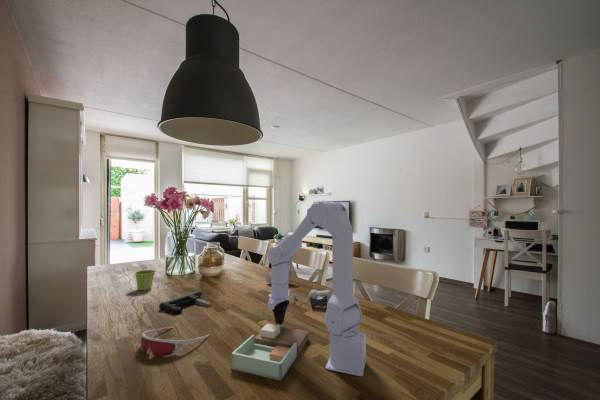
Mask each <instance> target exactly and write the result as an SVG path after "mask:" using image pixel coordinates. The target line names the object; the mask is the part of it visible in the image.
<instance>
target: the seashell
mask: <svg viewBox="0 0 600 400" xmlns="http://www.w3.org/2000/svg"><path fill="white" fill-rule="evenodd" d="M271 274H272V269H271V270H268V272H267V274H266V277H265V282H266V283H267V284H270V283H271ZM296 274H297V271H296V270H295V269H294V268H293V267H292V266H290V267H289V268H288V283H290V281H291V280H292V278H293V277H295V276H296Z"/></svg>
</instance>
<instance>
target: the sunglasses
mask: <svg viewBox="0 0 600 400" xmlns="http://www.w3.org/2000/svg"><path fill="white" fill-rule="evenodd" d="M175 327H176V326H172V327H169V326H168V327H161V328H155V329H150V330H146V331H144V332H142V333H141V335H140V350H141V352H143V353H144V354H145V355H147V354H148V353H149V352H150V351H151V353H152V355H153V356H154V357H156V358H167V357H173V356H175V355H177V354H178V353H179V352H180V351H181V350H182V348H183V347H185V346H187V345H189V346H190V345H191V344H194V343H196V342H199V341H201V340H205V339H207V338H208V337H209V336H210V335H211V334H210V333H209V334H207V335H203V336H201V337H196V338H191V339H161V338H155V337H152V336H149V335H151V334H154V333H157V332H160V331H167V330H169V331H171V330H173V329H176V328H175Z"/></svg>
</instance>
